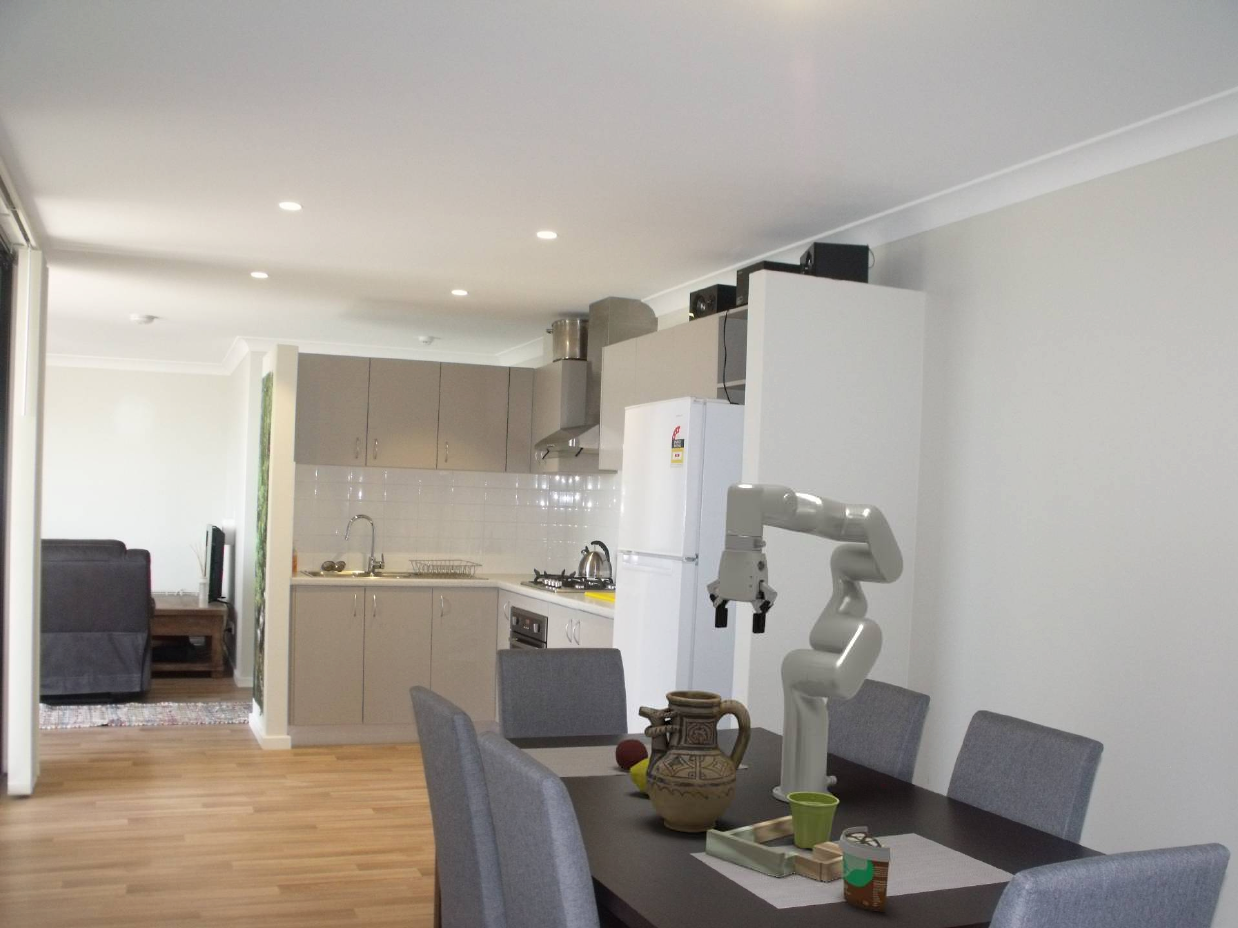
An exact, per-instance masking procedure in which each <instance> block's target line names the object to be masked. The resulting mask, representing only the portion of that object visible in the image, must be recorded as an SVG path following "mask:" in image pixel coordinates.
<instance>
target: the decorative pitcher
mask: <svg viewBox="0 0 1238 928" xmlns="http://www.w3.org/2000/svg"><path fill="white" fill-rule="evenodd" d="M665 698H666V700H667V702H668V704H667V707H666V708H663V709H662V708H661V709H657V708H654V707H648V706H642V705H641V706H639V708H638V714H637V715H638V716H639V717H642V718H645V719H647V720H648V721H649V723H650V725H648V726H647V727H645V729H644V730H643V731H644V732H643V734H644V735H645V738H649V739H651V742H650V744H651V745H650V746H651V749H650V757H649V758H650V759H649V764H648V767H647V770H646V786H647V790H648V794H647V795H648V798H649V799H650V802H651V804H652V806H653V808H654V809H655V811H656V812H657V814H658V815H659V816H660V817H662V819H664V821H663V824H664V826H665V827H666V828H667V829H670V830H672V831H677V832H682V833H691V834H692V833H693V834H695V833H704V832H707V830H711V829H715V828H716V823H715V822H716V821H717V820H718V819H720V818H721V817H722V816H723V815H724V814H725V813H726V812H727V810H728V809H729V808H730V806H731V803H732V802H733V799H734V796H735V794H736V788H737V772H738V770H739V767H740V765H741V763H742V761H743V758H744V756H745V754H746V751H747V748H748V747H749V746H748V745H749V743H750V739H751V735H752V734H751V733H752V731H751V730H752V729H751V722H752V721H751V717H750V714H749V712H748V709H747V707H745V705H744V704H743V703H742V702H740V701H739V700H736V699H725V700H722V696H721V695H719V694H717V693H713V692H709V691H701V690H674V691H673V690H672V691H670V692H668V693H666V694H665ZM726 715H732V716H734V717H735V718H736V722H737V726H738V727H737V728H738V733H737V734H738V735H737V737H736V740H735V743H734V746H733V748H732V751H731V753H730V755H729V756H728V755H727V754H726V753H725V752H724V751H723V749H722V748H721V747H720V746H719V745H718V743H719V742H718V728H717V726H718V723H719V722H720V720H722V718H723V717H724V716H726ZM667 734H668V735H667Z"/></svg>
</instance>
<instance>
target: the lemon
mask: <svg viewBox="0 0 1238 928" xmlns="http://www.w3.org/2000/svg"><path fill="white" fill-rule="evenodd" d="M649 759H650V757H648V758H647V759H644V760H642V761H641V762H639V763H638V764H636V765H635V766H633V767H631V768H630V771H629V775H630V777H629V778H630V781H632V782H633V783H634V784H635V786H636V787H637V789H639V790H640V791H641V792H642V793H645V794H647V795H649V794H648V790H647V786H646V770H647V767H648V764H649Z"/></svg>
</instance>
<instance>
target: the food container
mask: <svg viewBox="0 0 1238 928" xmlns="http://www.w3.org/2000/svg"><path fill="white" fill-rule="evenodd" d="M868 831H869V830H868V826H854V827H849V828H846V829H844V830H843V831H842V833H841V835H840V838H839V842H838V846H839V848H840V849H841V850H842V851H843V877H842V879H843V899H844V901H845V900H846V901H847V902H846V901H845V902H846V903H847V904H849V903H850V904H849V905H851V904H852V906H854V907H856V906H857V908H860V909H863V910H868V911H873V912H874V911H875V912H886V907H887V895H888V894H887V893H888V881H889V867H890V866H889V865H890V863H891V848H890V847H889V846H888V847H886V846H885V847H882V846H881V845H880V844H881V843H880V842H879V840H878V839H876V838H874V837H872V836H871V835H870V833H868Z"/></svg>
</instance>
